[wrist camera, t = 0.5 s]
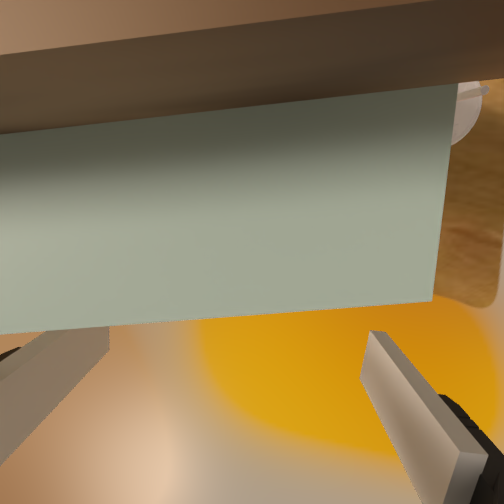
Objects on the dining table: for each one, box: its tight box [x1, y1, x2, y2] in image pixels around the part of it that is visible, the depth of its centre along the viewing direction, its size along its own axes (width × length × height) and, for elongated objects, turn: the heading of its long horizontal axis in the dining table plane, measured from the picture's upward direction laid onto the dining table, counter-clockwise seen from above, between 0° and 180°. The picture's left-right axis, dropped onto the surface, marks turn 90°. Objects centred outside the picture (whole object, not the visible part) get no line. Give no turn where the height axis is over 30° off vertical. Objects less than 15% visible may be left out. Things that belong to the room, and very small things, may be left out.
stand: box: [0, 83, 459, 334], centre depth 19 cm, size 14×14×30 cm
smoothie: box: [451, 81, 489, 145], centre depth 26 cm, size 6×6×14 cm
